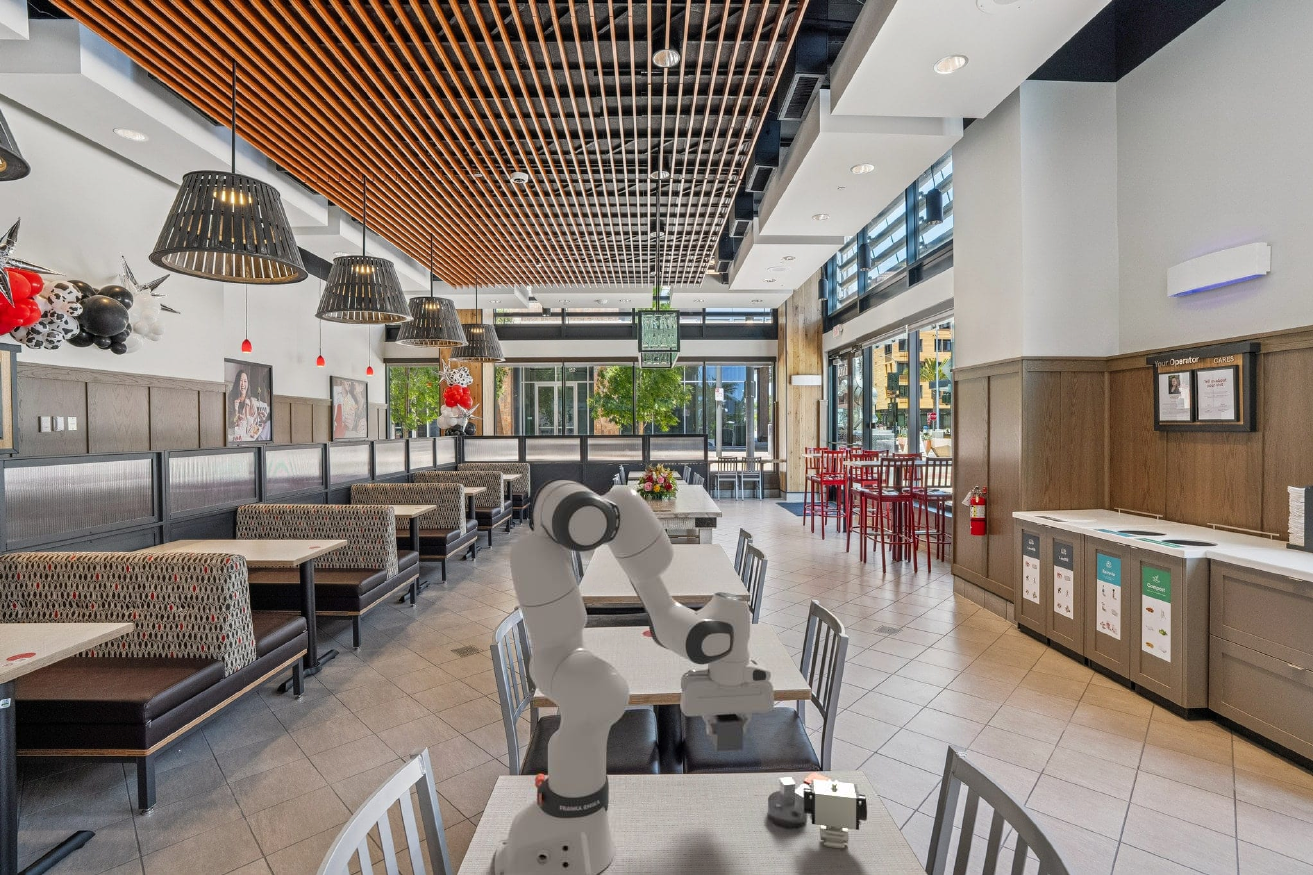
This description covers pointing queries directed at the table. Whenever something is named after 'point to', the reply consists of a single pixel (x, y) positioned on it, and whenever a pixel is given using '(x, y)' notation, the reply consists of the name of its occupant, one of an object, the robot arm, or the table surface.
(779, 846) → the table surface
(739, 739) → the open square container
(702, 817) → the table surface
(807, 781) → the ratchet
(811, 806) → the pneumatic valve
